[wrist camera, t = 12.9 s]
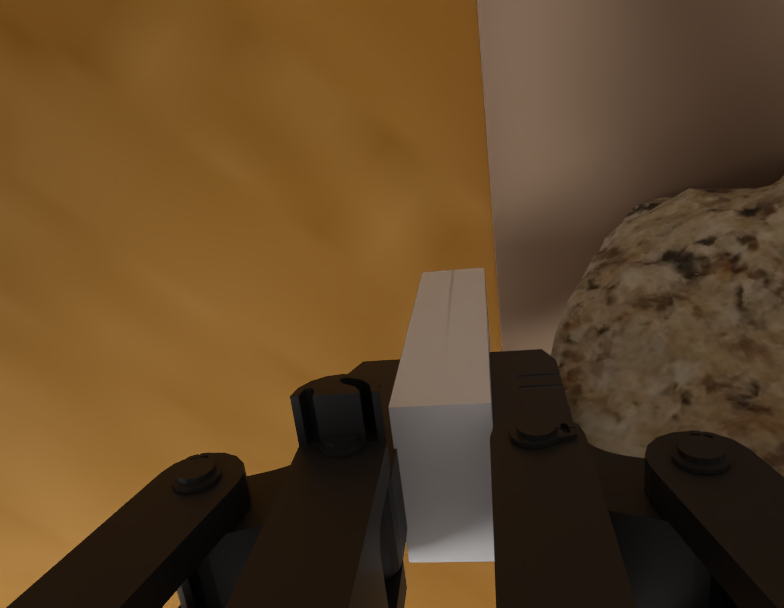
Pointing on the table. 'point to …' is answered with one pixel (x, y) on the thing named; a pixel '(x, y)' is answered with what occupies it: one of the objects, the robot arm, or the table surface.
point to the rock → (682, 325)
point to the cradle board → (615, 127)
